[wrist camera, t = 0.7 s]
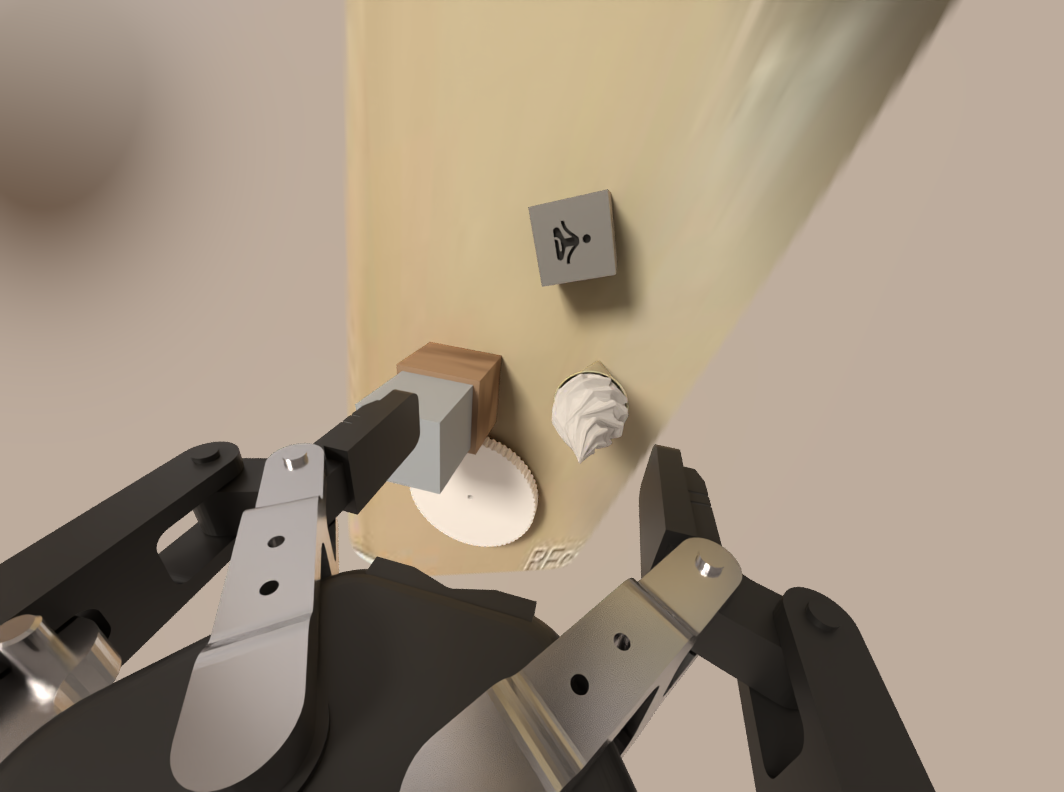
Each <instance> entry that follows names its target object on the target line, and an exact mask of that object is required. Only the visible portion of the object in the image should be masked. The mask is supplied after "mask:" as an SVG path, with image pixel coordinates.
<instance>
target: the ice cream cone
mask: <svg viewBox="0 0 1064 792" xmlns="http://www.w3.org/2000/svg"><path fill="white" fill-rule="evenodd" d="M628 406H629V403H628V398H627V395H626V392H625V390H624V389H623V387H622V386H621V385H620V384H619V383H618V381H616V380H615V379H614V378H613V377H612V376H611V375H610V373H609V372H608V371H607V370H606V369H605V367H604V366H603V365H602V364H601V362H600V361H597V362H595V363H593V364H592V365H590V366H588V367H587V368H585V369H583V370H582V371H580V372H578V373H575V374H573V375H571V376H569V377H567V378H566V379H565V380H564V381H563V382H562V383H561V384H560V385H559V387H558V388H557V390H556V393H555V396H554V405H553V408H552V424H553V425H554V427H555V429H556V430H557V432H558V433H559V435H560V437H561V438H562V439H563V440H564V442H565V443H566V444H567V445H568V446H569V447H570V448H571V449H572V450H573V451H574V453H575V455H576V457H577V459H578V462H579V463H581V462H582V461H583V460H585V459H586V458H587V457H589V456H590V455H591V454H594V453H595V452H594V450H595V448H596V449H599V448H603V447H607V446H609V445H611V444H612V441H611V439H612V438H618V437H621V436H622V432H623V427H624V423H625V421H626V419H627V417H628V416H629V415H628Z"/></svg>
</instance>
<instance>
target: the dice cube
mask: <svg viewBox="0 0 1064 792" xmlns="http://www.w3.org/2000/svg"><path fill="white" fill-rule="evenodd" d="M528 208H529V214H530V220H531V226H532V231H533V237H534V243H535V249H536V254H537V260H538V266H539V272H540V277H541V283H542V287H543V286H549V285H555V284H562V283H568V282H574V281H580V280H586V279H592V278H599V277H605V276H611V275H616V272H617V266H618V264H617V253H616V242H615V232H614V221H613V211H612V200H611V192H610V191H609V190H608V189H607V190H603V191H598V192H594V193H589V194H585V195H580V196H576V197H572V198H567V199H563V200H558V201H554V202H549V203H545V204H540V205H536V206H532V207H528Z"/></svg>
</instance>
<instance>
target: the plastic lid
mask: <svg viewBox="0 0 1064 792" xmlns="http://www.w3.org/2000/svg"><path fill="white" fill-rule="evenodd" d="M533 477H534V476H533V475H532V474H531V471H530V470H528V466H527V465H525V464H524V461H523V460H522V461H521V460H520V457H519V456H516V453H515V452H512V451H511V449H510V448H509V449H508V448H506V446H505V445H501V443H500V442H496V441H495V440H494V439H492V440H491V439H490V438H489V437H486V439H485V440H484V442H483V444H482V445H481V447H480V449H479V450H478V452H477V453H476V455H475V454H470V453H467V454H466V456H465V457H464V459H463V460H462V462H461V463H460V465H459V466H458V468H457V469H456V471H455V472H454V474H453V475H452V477H451V478H450V480H449V481H448V483H447V484H446V486H445V488H444V489H443V491H442V492H441V494H437V493H433V492H429V491H425V490H421V489H417V488H413V487H411V488H410V491H411V492H412V493H411V496H413V500H414V501H415V505H417V506H418V507H417V508H418V509H420V513H422V514H423V516H424V517H426V518H427V521H430V522H431V523H430V524H431V525H434V526H435V528H438V529H439V531H440V532H441V531H442V532H443V534H445V535H446V534H447V535H448V537H452V538H453V539H457V540H458V541H459V542H460V541H462V542H463V543H468V544H469V545H471V544H473V545H474V546H476V545H478V546H479V547H481V546H484V547H486V546H489V547H492V546H494V547H496V546H497V545H499V546H501V545H502V544H503V545H506V543H508V544H509V543H510V542H511V541H512V542H514V541H515V539H516V540H517V539H518V538H519V537H522V534H525V532H526V531H528V528H530V526H531V524H532V522H533V519H534V516H535V513H536V509H537V505H538V494H537V493H538V489H536V488H537V485H536V484H535V479H533Z"/></svg>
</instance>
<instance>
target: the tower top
mask: <svg viewBox="0 0 1064 792" xmlns="http://www.w3.org/2000/svg"><path fill="white" fill-rule="evenodd" d="M394 389H397V390H402V391H406V392H411V393H415V394H417V396H418V399H419V416H420V437H419V441H418V443H417V445H416V447H415V449H414V450H413V451H412V452H411V453H410V454H409V456H408V457H407V458H406V459H405V460H404V461H403V463H402V464H401V465H400V466H399V467H398V468H397V470H396V471H395V472H394V473H393V474H392V475H391V476H390V478H389V479H388V480H387V481H389V482H393V483H397V484H401V485H405V486H409V487H413V488H417V489H421V490H425V491H429V492H433V493H437V494H441V492H442V491H443V489H444V488H445V486H446V484H447V483H448V481H449V480H450V478H451V477H452V475H453V474H454V472H455V471H456V469H457V468H458V466H459V465H460V463H461V462H462V460H463V459H464V457H465V456H466V454H467V453H468V451H469V450H470V446H471V421H472V397H473V385H470V384H465V383H460V382H455V381H450V380H445V379H440V378H435V377H430V376H425V375H420V374H415V373H410V372H405V371H401V372H400V373H399V374H397V375H396V376H394V377H393V378H392V379H390V380H389V381H387V382H386V383H385V384H383V385H382V386H380V387H379V388H378V389H376V390H375V391H373V392H372V393H371V394H369V395H368V396H366V397H365V398H364V399H362V400H361V401H359V402H358V403H357V404H355V405H356V410H358V409H359V408H360V407H361V406H363V405H365V404H368V403H370V402H373V401H375V400H381V399H382V398H383V397H385V396H386V395H387V394H388V393H390V392H391V391H392V390H394Z"/></svg>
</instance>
